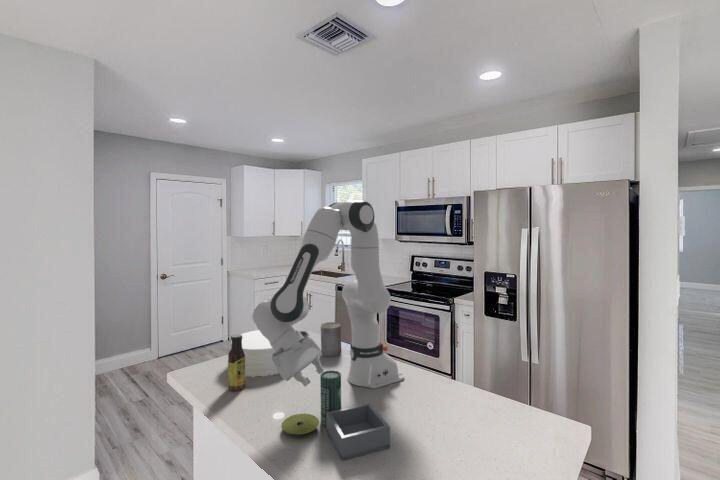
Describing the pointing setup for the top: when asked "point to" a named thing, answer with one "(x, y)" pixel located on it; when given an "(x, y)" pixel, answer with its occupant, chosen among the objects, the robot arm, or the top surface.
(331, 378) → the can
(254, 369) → the plate stack
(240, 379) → the sauce bottle
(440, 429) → the top surface
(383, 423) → the bin
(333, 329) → the pillar candle
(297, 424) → the mat
